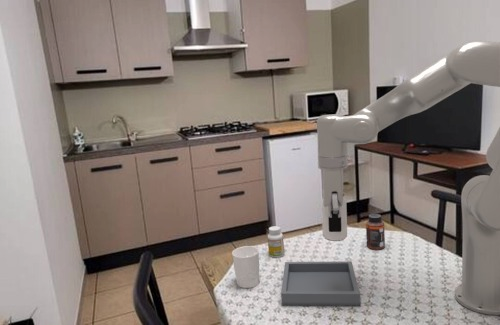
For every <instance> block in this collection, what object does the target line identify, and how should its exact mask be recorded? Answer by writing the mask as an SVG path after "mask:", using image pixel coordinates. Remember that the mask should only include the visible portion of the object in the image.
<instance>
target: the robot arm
mask: <svg viewBox="0 0 500 325" xmlns="http://www.w3.org/2000/svg"><path fill="white" fill-rule="evenodd" d="M470 84H474V85H481V86H487V87H489V86H490V87H498V88H500V42H497V41H496V42H495V41H486V40H473V41H468V42H466V43H464V44H462V45H459V46H457V47H455V48H454V49H452V50H451V51H449V52H447V53H446V54H444V55H442V56H441V57H439V58H438V59H436V60H435V61H433V62H432V63H430V64H429V65H427V66H425V67H424V68H422V69H421V70H419V71H418V72H416V73H415V74H413V75H411V76H409V77H408V78H407V79H405V80H404V81H402V82H400V83H399V84H398V85H396V87H394V88H393V89H392V90H390V91H389V92H387V93H385V94H384V95H382V96H381V97H379V98H378V99H376V100H375V101H373V102H371V103H370V104H368V105H367V106H365V107H364V108H362V109H360V110H358V111H357V112H355V114H352V115H351V114H350V115H346V116H345V115H344V114H337V113H334V114H323V115H320V116H318V118H317V120H316V134H317V160H318V162H317V165H318V169H320V170H322V172H321V173H322V174H321V179H322V180H321V182H322V183H321V185H322V186H321V187H322V198H323V205H324V206H325V207H326V206H329V216H330V217H329V232H341V217H340V207H341V206H342V205H343V194H344V170H346V169H347V168H348V163H349V162H348V143H350V144H356V145H366V144H369V143H371V142H373V141H374V140H375V139H376V138H377V137H378V133H379V132H381V131H382V130H384V129H386V128H387V127H389V126H391V125H392V124H394V123H396V122H398V121H399V120H402V119H404V118H406V117H409V116H412V115H415V114H419V113H422V112H424V111H426V110H428V109H430V108H432V107H433V106H435V105H436V104H438V103H440V102H441V101H443V100H445V99H447V98H448V97H449V96H452V95H453V94H454V93H456V92H458V91H460V90H462V89H463V88H465V87H467V86H468V85H470ZM485 159H486V162H487V164H488V166H489V167H490V168H491V169H492V170H491V173H490V175H488V174H483V175H482V174H480V175H477V176H473V177H472V178H470V179H469V180H468V181H467V182H466V183H465V184H464V185H463V188H462V191H461V196H460V200H461V213H462V214H461V215H462V247H461V248H462V249H461V250H462V255H461V257H462V260H461V263H462V264H461V285H458V286H457V287H456V288H455V290H454V298H455V299H456V301H457V302H458V303H459V304H460V305H462V306H463V307H465V308H467V310H468V309H469V310H471V311H473V312H477V313H480V314H484V315H493V316H500V127H499V128H498V129H497V131H496V134H495V135H494V137H493V139H492V141H491V143H489V146H488V148H487V150H486V154H485ZM340 202H341V204H340ZM331 203H333V206H331ZM331 208H333V210H332V211H331Z"/></svg>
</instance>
